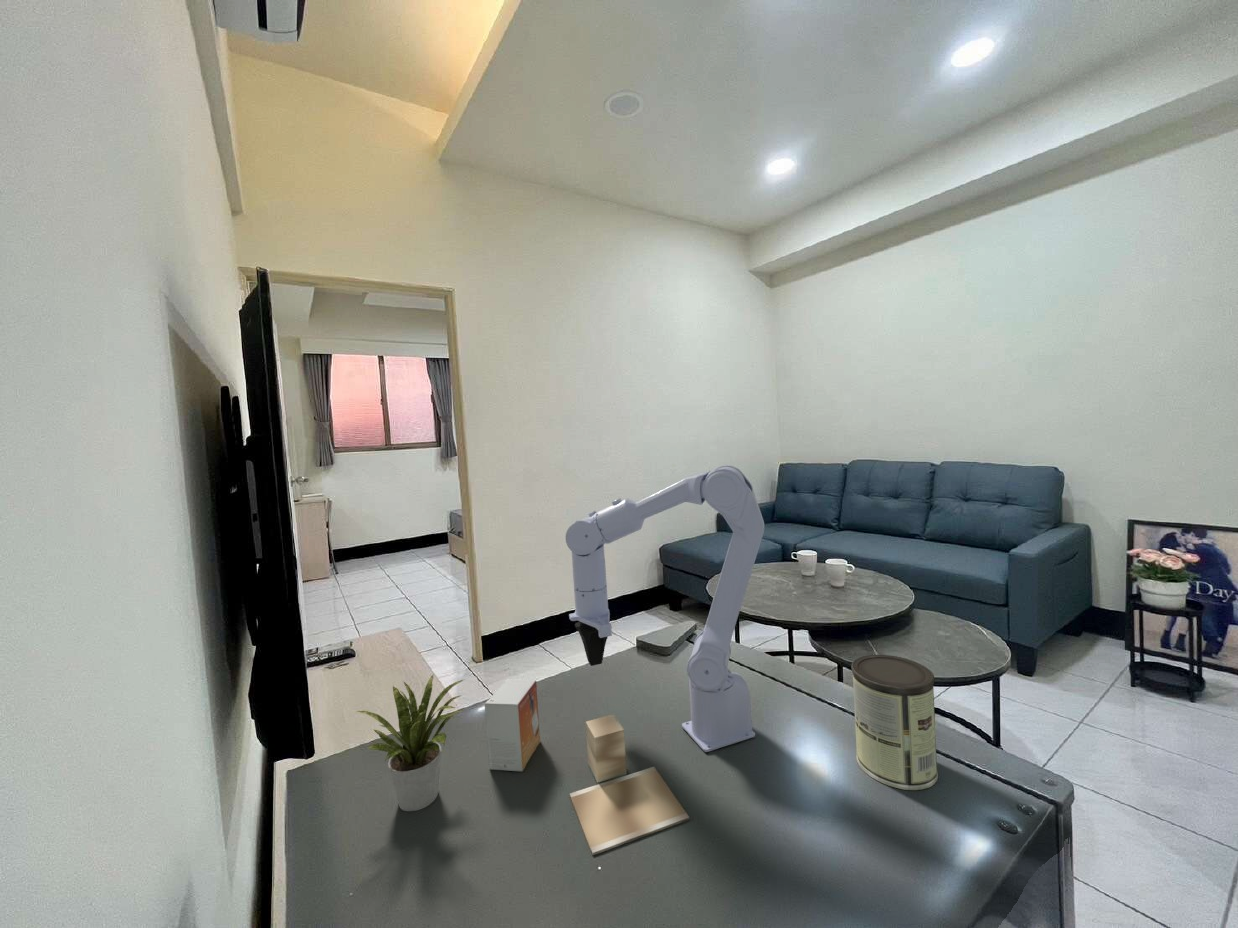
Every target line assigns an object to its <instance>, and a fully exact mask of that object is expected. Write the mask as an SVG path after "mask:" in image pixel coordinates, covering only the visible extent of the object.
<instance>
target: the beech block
mask: <svg viewBox="0 0 1238 928" xmlns="http://www.w3.org/2000/svg"><path fill="white" fill-rule="evenodd" d="M585 730H586V731H585V732H586V734H585V735H586V746H587V747H586V748H587V750H586V751H587V761H588V764H587V765H588V768H589V771H590V773H591V775H592V777H593V778H594V781H595V783H596V785H598V784H601V783H604V782H607V781H610V780H614V779H617V778H620V777H623V776H626V775H628V774H627V757H626V756H627V755H626V743H625V742H626V741H625V730H624V727H623V726H622V724H621V723H620V722H619V720H618V718H617V717H616V716H615V714H609V715H606V716H602V717H598V718H594V719H591V720H588V721H585Z"/></svg>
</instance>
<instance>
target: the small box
mask: <svg viewBox="0 0 1238 928" xmlns="http://www.w3.org/2000/svg"><path fill="white" fill-rule="evenodd" d="M537 687H538V686H537V680H535V679H517V678H516V679H515V678H513V679H512V678H507V679H505V680H504V681H503V682H502V684H501V685H500V686H499V687H498V689H496V691H495V692H494V693H493V694H492V695H491V696H490V697H489V699H487V701H485V702H484V713H485V717H484V718H485V727H486V740H487V755H488V767H489V770H495V771H509V772H511V771H512V772H523V771H524V769H525V768H526V766H527V764H528V763H529V761H530V759H531V758H532V756H533V754H534V752H535V751H536V749H537V747H538V746H539V744H540V743H541V734H540V733H541V731H540V718H539V705H538V704H539V703H538V702H539V699H538V688H537Z"/></svg>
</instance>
